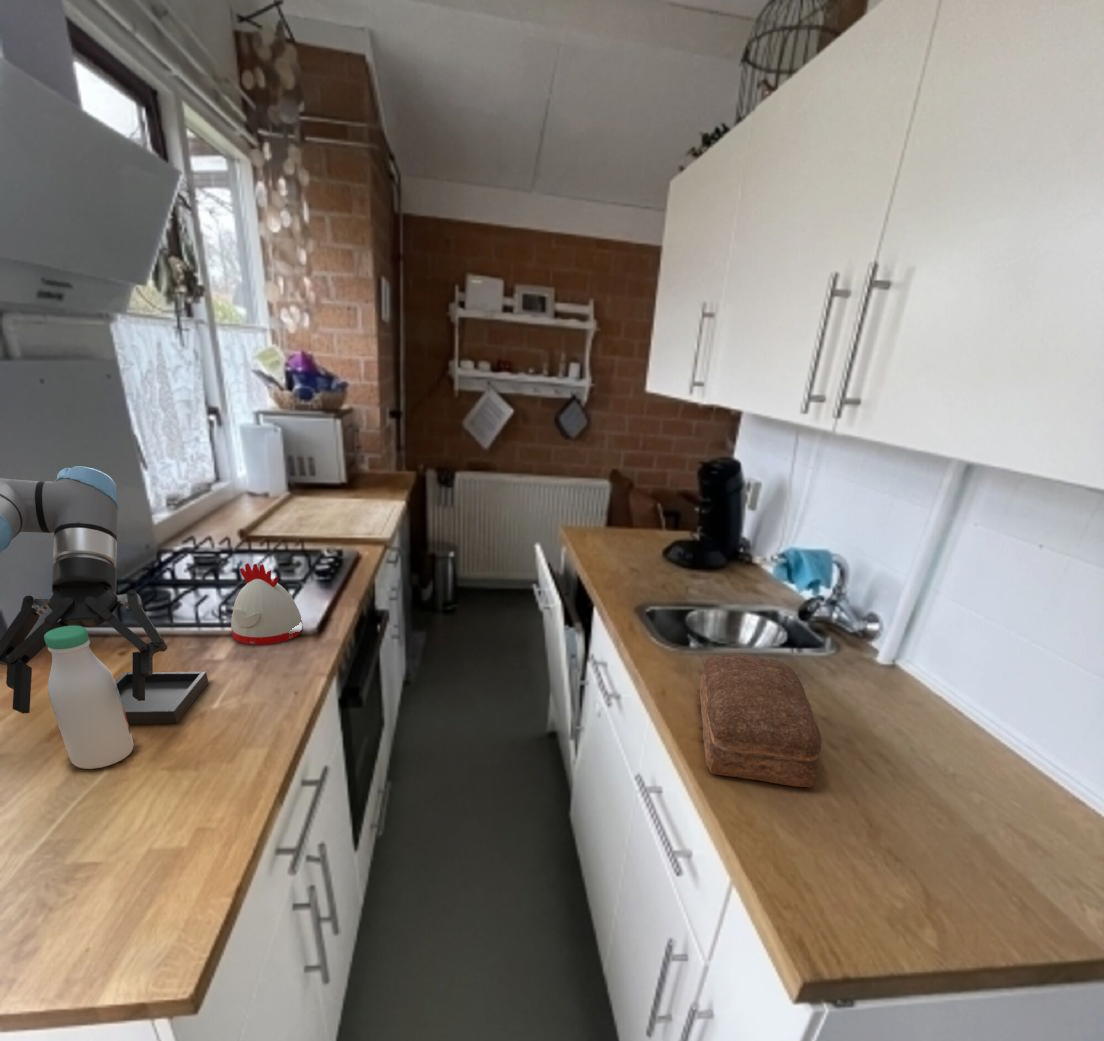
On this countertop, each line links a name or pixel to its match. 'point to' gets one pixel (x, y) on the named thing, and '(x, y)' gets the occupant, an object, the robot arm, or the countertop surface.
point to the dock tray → (161, 696)
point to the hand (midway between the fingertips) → (81, 704)
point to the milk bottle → (86, 701)
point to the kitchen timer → (263, 609)
